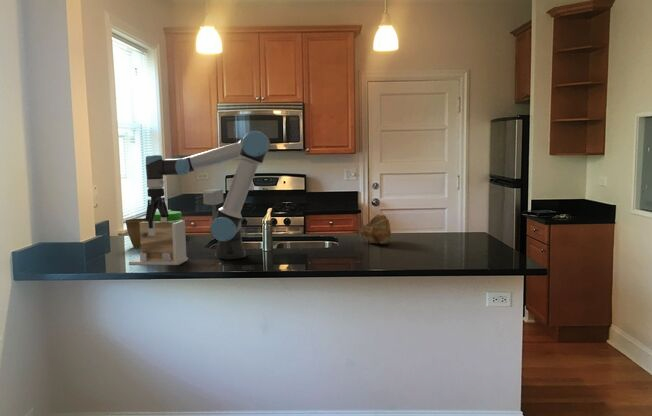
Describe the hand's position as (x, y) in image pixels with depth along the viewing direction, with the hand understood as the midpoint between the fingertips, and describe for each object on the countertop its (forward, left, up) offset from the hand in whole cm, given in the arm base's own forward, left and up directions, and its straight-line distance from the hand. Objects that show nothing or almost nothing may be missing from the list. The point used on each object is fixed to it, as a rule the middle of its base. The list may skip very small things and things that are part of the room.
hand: (158, 233), depth 252 cm
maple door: (0, 0, -13) cm, 13 cm away
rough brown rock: (-57, -103, -14) cm, 118 cm away
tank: (+57, -43, -15) cm, 72 cm away
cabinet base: (0, 0, -14) cm, 14 cm away
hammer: (+28, -60, -14) cm, 68 cm away
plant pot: (+42, -19, -14) cm, 48 cm away
